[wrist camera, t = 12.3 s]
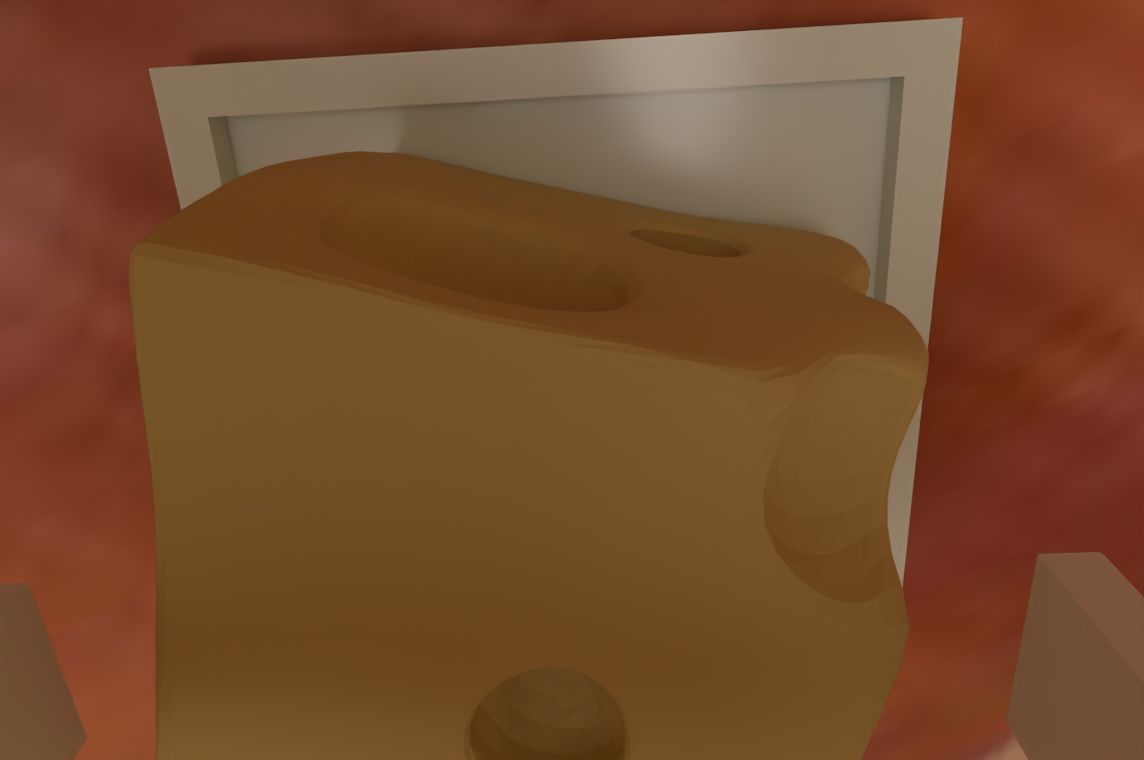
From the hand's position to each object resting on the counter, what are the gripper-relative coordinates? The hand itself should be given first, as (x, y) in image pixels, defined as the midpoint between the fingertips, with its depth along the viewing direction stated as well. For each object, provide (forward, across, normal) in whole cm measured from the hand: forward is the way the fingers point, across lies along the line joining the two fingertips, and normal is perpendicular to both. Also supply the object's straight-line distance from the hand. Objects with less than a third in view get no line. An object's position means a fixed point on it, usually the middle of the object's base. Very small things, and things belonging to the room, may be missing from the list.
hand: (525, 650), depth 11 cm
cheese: (+10, 0, -1) cm, 10 cm away
